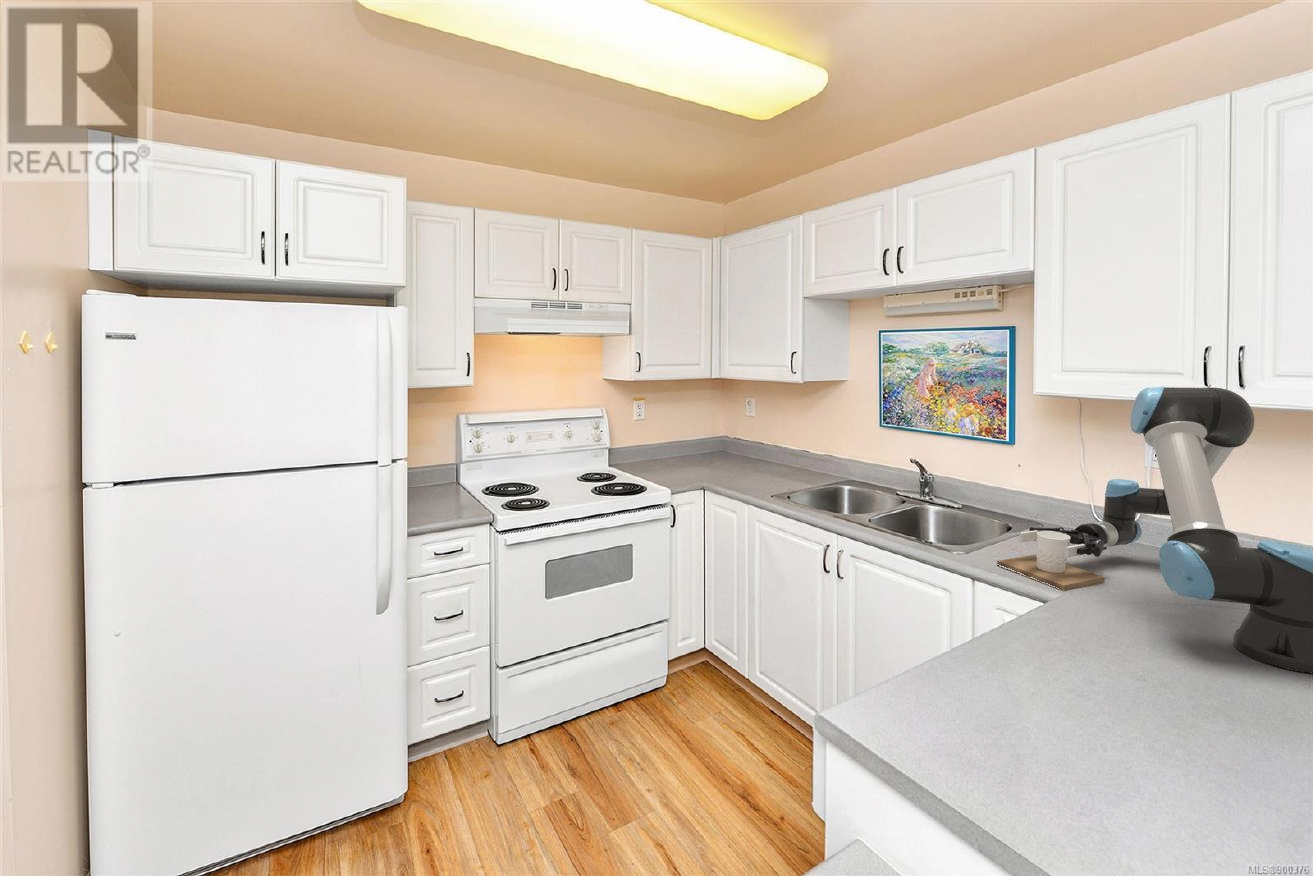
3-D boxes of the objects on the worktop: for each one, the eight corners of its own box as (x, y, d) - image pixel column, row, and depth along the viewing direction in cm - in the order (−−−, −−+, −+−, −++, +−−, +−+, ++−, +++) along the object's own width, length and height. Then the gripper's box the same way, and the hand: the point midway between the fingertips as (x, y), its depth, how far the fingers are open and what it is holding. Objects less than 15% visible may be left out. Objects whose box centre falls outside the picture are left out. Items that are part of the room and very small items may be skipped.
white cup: (1072, 575, 166) (1075, 540, 165) (1040, 573, 168) (1044, 538, 166) (1059, 565, 174) (1062, 531, 172) (1029, 563, 175) (1032, 530, 174)
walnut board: (1104, 582, 165) (1104, 577, 165) (1063, 590, 159) (1063, 585, 159) (1035, 558, 183) (1036, 554, 183) (996, 565, 178) (997, 560, 178)
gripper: (1140, 562, 165) (1086, 572, 158) (1052, 536, 188) (1002, 544, 181) (1143, 535, 164) (1089, 545, 157) (1055, 512, 187) (1004, 520, 180)
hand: (1042, 544), depth 169 cm, fingers open, 13 cm apart
